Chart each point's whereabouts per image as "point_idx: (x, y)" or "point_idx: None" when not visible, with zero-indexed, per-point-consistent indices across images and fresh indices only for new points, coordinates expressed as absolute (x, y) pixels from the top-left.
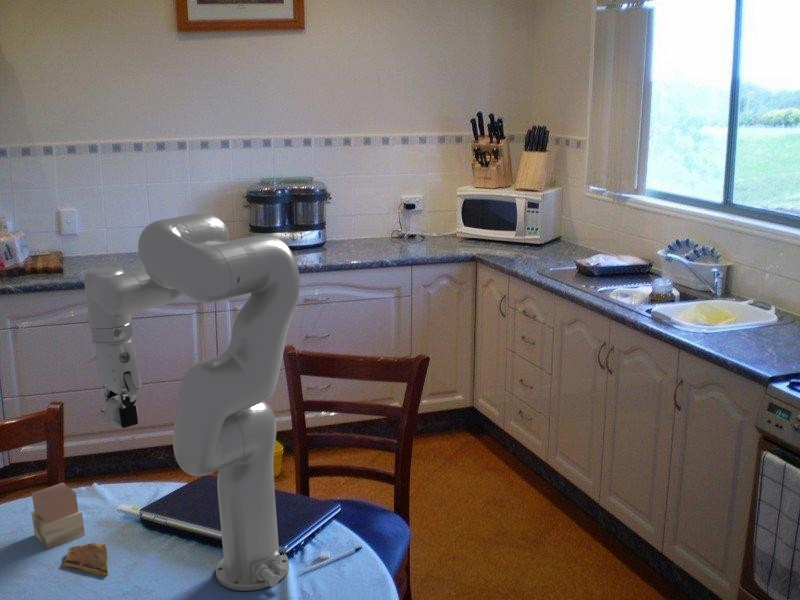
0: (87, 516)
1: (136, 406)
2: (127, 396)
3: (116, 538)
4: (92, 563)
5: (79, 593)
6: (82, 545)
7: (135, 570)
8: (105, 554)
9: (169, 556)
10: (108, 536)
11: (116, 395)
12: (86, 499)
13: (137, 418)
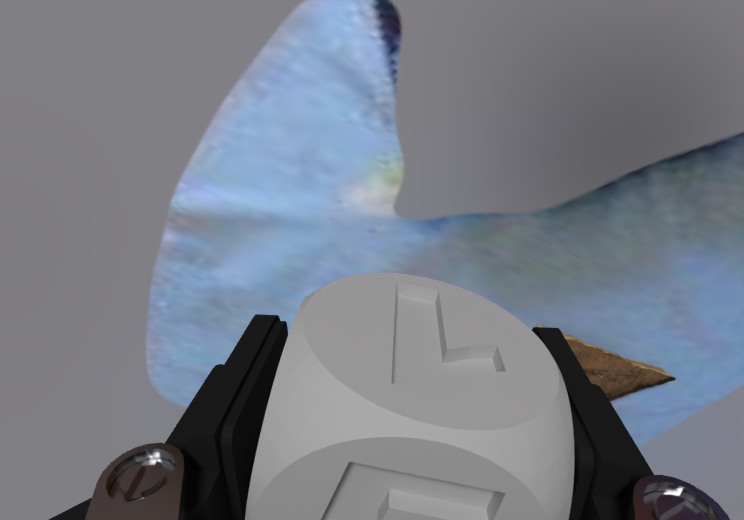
0: None
1: (560, 399)
2: (351, 457)
3: (521, 288)
4: (611, 387)
5: (668, 428)
6: None
7: (704, 318)
8: (599, 352)
9: (733, 230)
10: (494, 298)
11: (214, 505)
12: (246, 258)
13: (569, 349)
